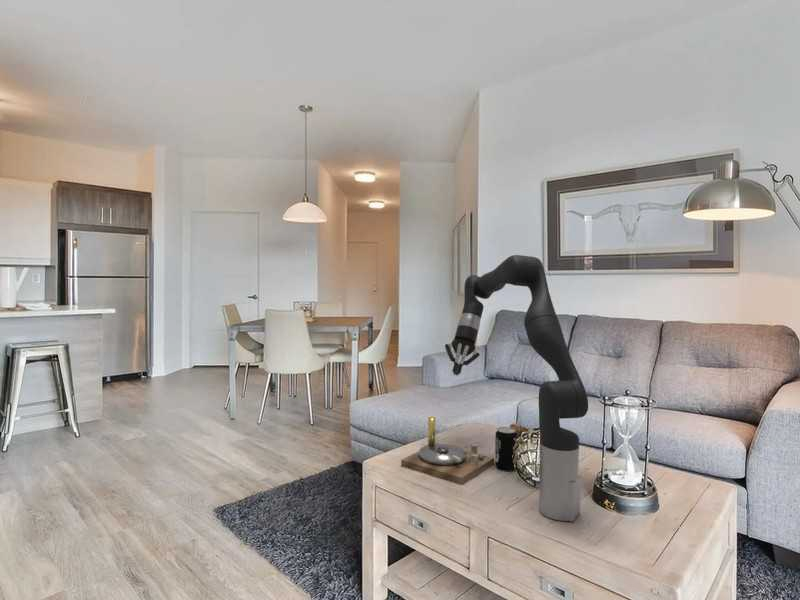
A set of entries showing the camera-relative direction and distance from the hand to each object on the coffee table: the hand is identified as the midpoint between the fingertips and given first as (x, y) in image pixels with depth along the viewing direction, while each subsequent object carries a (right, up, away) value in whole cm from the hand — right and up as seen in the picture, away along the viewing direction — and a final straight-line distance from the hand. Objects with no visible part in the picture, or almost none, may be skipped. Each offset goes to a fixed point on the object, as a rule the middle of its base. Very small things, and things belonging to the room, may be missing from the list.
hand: (455, 374), depth 162 cm
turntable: (-4, -27, -13) cm, 30 cm away
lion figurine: (+25, -27, +1) cm, 37 cm away
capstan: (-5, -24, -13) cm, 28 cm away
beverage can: (+14, -27, -14) cm, 34 cm away
